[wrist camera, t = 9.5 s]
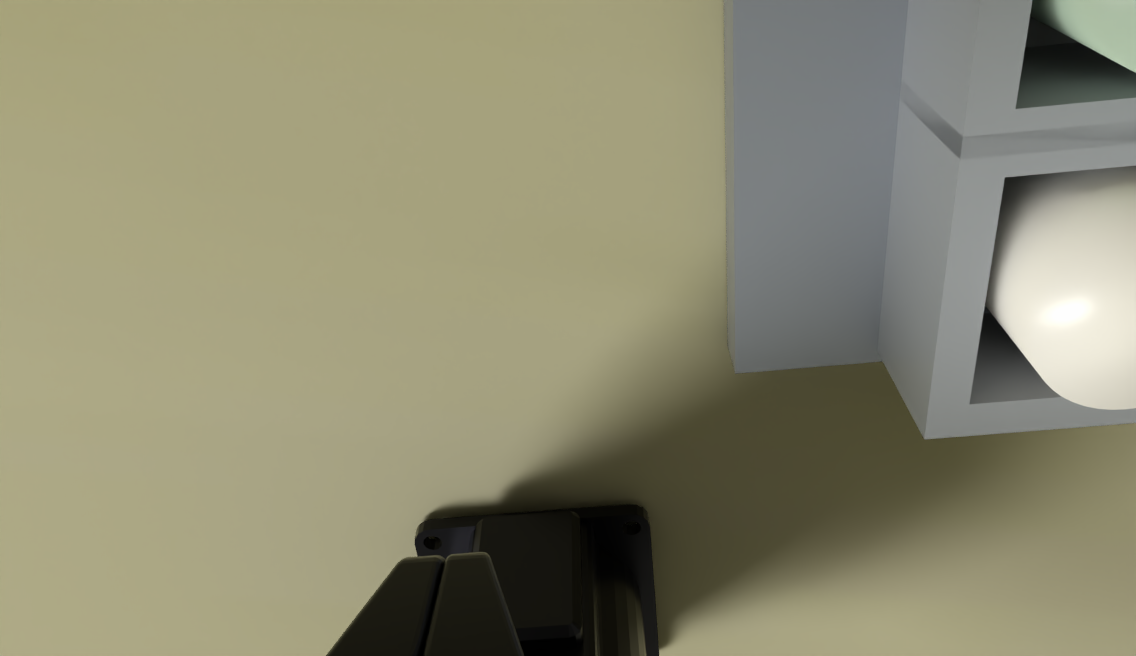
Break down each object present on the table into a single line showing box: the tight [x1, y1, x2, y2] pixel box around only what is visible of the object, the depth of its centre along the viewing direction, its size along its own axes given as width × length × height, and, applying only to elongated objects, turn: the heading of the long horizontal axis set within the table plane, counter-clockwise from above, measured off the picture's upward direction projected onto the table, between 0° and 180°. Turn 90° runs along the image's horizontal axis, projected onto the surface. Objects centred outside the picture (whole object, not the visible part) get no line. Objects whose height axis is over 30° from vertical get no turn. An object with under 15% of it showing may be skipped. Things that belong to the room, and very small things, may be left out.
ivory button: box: [985, 165, 1136, 410], centre depth 18 cm, size 4×4×4 cm
